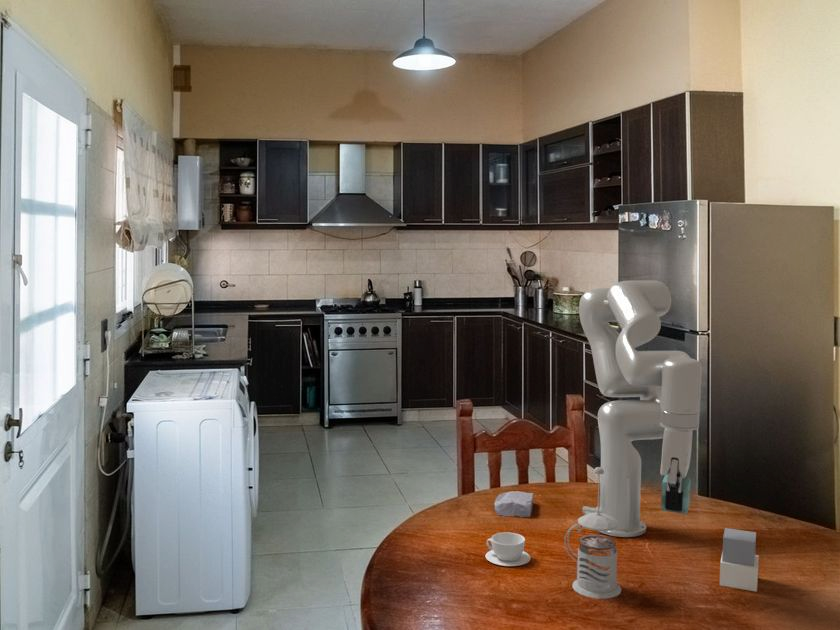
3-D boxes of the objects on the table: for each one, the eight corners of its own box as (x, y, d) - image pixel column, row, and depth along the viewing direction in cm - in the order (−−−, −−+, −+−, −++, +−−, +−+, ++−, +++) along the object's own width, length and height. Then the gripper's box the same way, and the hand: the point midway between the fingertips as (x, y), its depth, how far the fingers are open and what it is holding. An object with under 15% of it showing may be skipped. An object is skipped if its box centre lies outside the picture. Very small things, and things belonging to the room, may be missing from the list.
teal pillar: (660, 510, 158) (662, 481, 157) (664, 501, 163) (665, 474, 162) (686, 514, 156) (688, 485, 155) (689, 505, 160) (690, 477, 160)
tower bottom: (719, 586, 159) (720, 562, 158) (721, 572, 165) (722, 550, 164) (756, 592, 156) (757, 568, 155) (757, 578, 162) (758, 555, 161)
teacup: (536, 554, 175) (536, 534, 174) (522, 571, 166) (523, 550, 165) (493, 547, 179) (494, 527, 178) (478, 563, 170) (478, 542, 169)
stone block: (495, 523, 199) (533, 518, 197) (491, 505, 199) (530, 499, 197) (499, 509, 211) (535, 504, 209) (495, 492, 210) (532, 487, 208)
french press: (612, 603, 151) (615, 477, 148) (556, 589, 157) (558, 468, 155) (628, 584, 159) (630, 464, 157) (573, 571, 165) (575, 456, 163)
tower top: (722, 561, 159) (723, 537, 158) (724, 550, 164) (725, 527, 163) (754, 566, 156) (755, 542, 156) (755, 555, 161) (756, 532, 161)
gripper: (665, 407, 166) (661, 489, 168) (654, 427, 151) (650, 516, 153) (703, 411, 163) (698, 494, 165) (694, 432, 148) (690, 523, 150)
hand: (675, 504), depth 159 cm, fingers closed on teal pillar, 4 cm apart
